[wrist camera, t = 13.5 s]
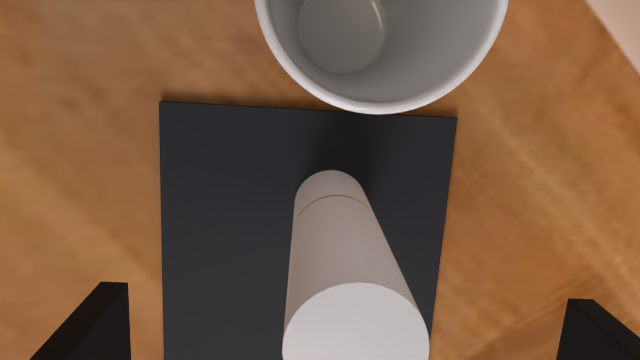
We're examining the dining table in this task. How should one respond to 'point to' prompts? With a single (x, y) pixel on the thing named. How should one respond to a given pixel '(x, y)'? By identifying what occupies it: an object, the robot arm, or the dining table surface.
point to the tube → (346, 281)
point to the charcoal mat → (282, 212)
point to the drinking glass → (380, 47)
